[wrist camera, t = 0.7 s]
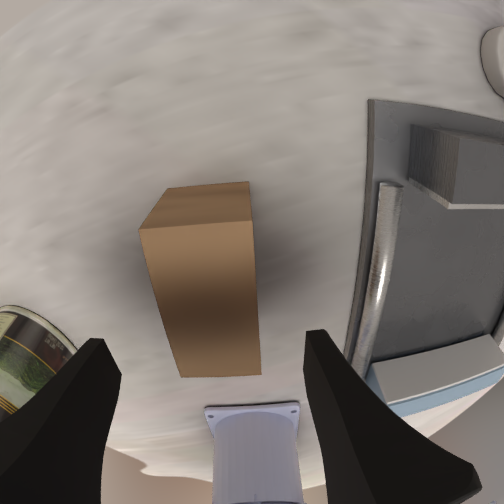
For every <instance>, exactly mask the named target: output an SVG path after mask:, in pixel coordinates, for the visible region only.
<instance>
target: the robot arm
mask: <svg viewBox="0 0 504 504" xmlns="http://www.w3.org/2000/svg"><path fill="white" fill-rule="evenodd" d="M303 372H304V379H305V386H306V393H307V398H308V402H309V405H310V409H311V413H312V417H313V421H314V424H315V428H316V432H317V436H318V440H319V444H320V448H321V452H322V457H323V464H324V472H325V479H326V488H327V496H328V504H460V503H462V502H464V501H465V500H467V499H469V498H470V497H472V496H473V495H475V494H477V493H478V492H479V491H481V489H482V485H481V482H480V479H479V476H478V474H477V472H476V470H475V468H474V466H473V465H472V464H471V463H469V462H467V461H465V460H463V459H461V458H459V457H457V456H455V455H453V454H451V453H450V452H448V451H446V450H444V449H443V448H441V447H440V446H438V445H436V444H435V443H433V442H432V441H430V440H429V439H427V438H426V437H425V436H423V435H422V434H421V433H419V432H418V431H417V430H415V429H414V428H412V427H411V426H410V425H409V424H407V423H406V422H405V421H404V420H403V419H401V418H400V417H399V416H398V415H397V414H396V413H394V412H393V411H392V410H391V409H390V408H389V407H388V406H387V405H386V404H385V403H384V402H383V401H382V400H381V399H380V398H379V397H378V396H377V395H376V394H375V393H374V392H373V391H372V390H371V389H370V388H369V386H368V385H367V384H366V383H365V382H364V381H363V380H362V378H361V377H360V376H359V375H358V374H357V372H356V371H355V370H354V369H353V367H352V366H351V365H350V364H349V362H348V361H347V360H346V359H345V357H344V356H343V354H342V353H341V352H340V350H339V349H338V348H337V346H336V345H335V343H334V342H333V340H332V339H331V337H330V336H329V334H328V333H327V331H326V330H324V329H321V330H312V331H306V340H305V353H304V365H303ZM121 376H122V374H121V372H120V370H119V368H118V367H117V365H116V363H115V361H114V359H113V357H112V355H111V353H110V351H109V349H108V347H107V345H106V343H105V341H104V339H99V338H90V339H89V340H88V341H86V342H85V343H84V344H83V345H82V346H81V347H80V349H79V350H78V351H77V352H76V353H75V354H74V355H73V356H72V357H71V358H70V359H69V360H68V361H67V362H66V363H65V365H64V366H63V367H62V368H61V369H60V370H59V371H58V372H57V373H56V374H55V375H54V376H53V377H52V378H51V379H50V380H49V381H48V382H47V383H46V384H45V385H44V386H43V387H42V388H41V389H40V390H39V391H38V392H37V393H36V394H35V395H34V396H33V397H32V398H31V399H30V400H29V401H28V402H26V403H25V404H24V405H23V406H22V407H21V408H19V409H18V410H17V411H16V412H14V413H13V414H12V415H10V416H9V417H7V418H6V419H5V420H3V421H2V422H0V504H101V474H102V464H103V455H104V450H105V445H106V441H107V437H108V434H109V430H110V426H111V422H112V419H113V415H114V412H115V408H116V404H117V401H118V396H119V390H120V383H121ZM299 413H300V404H299V403H297V402H291V403H281V404H270V405H256V406H237V407H207V408H205V409H204V415H205V417H206V420H207V423H208V425H209V428H210V431H211V433H212V436H213V438H214V461H213V497H212V498H213V499H212V504H306V503H304V499H303V492H302V484H301V476H300V469H299V462H298V454H297V447H296V439H297V431H298V422H299ZM489 504H497V503H496V501H492V502H491V503H489Z"/></svg>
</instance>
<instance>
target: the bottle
mask: <svg viewBox="0 0 504 504" xmlns="http://www.w3.org/2000/svg"><path fill="white" fill-rule="evenodd" d="M481 58H482V64H483V68H484V71H485V74H486V76H487V79H488V81H489V83H490V84H491V86H492V87H493V88H494V90H495V92H497V93H498V94H499V95H501V96H502V97H503V98H504V26H500V27H497V28H494V29H491V30H489V31H488V32H487V33H486V34H485V36H484V38H483V39H482V45H481Z"/></svg>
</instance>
